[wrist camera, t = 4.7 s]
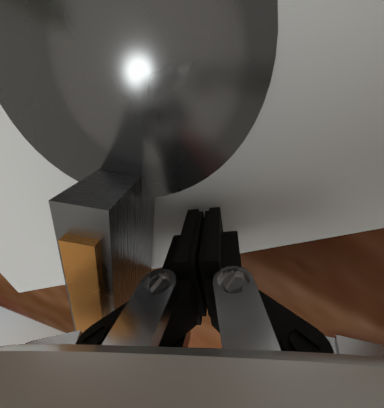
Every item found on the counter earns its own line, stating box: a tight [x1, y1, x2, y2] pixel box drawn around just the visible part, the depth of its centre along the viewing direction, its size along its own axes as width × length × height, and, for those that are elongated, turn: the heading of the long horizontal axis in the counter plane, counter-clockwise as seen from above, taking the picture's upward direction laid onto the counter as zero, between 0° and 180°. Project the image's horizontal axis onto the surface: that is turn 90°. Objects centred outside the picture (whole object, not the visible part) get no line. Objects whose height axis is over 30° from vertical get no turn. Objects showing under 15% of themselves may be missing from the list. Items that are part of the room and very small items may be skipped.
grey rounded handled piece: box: [0, 0, 278, 333], centre depth 8 cm, size 16×9×5 cm, turn 173°
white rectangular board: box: [0, 0, 384, 293], centre depth 10 cm, size 26×20×2 cm
